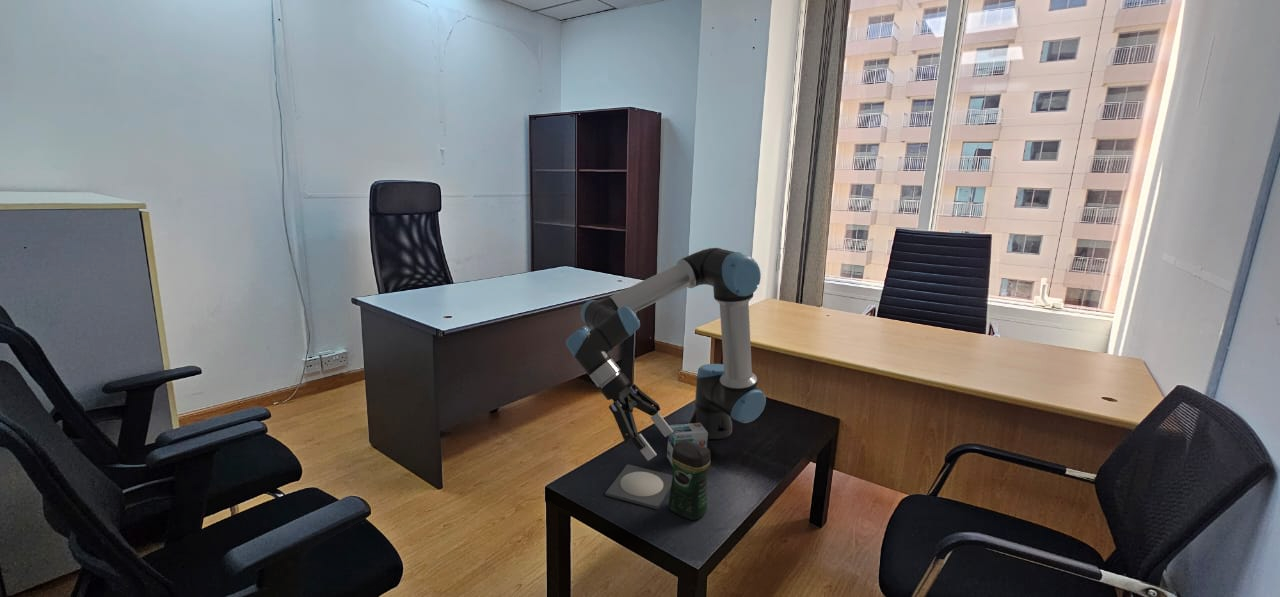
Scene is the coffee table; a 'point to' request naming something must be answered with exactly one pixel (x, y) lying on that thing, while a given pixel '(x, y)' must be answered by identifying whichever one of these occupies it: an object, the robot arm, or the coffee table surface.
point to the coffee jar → (689, 479)
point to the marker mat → (641, 486)
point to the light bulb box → (686, 436)
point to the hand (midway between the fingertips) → (661, 445)
